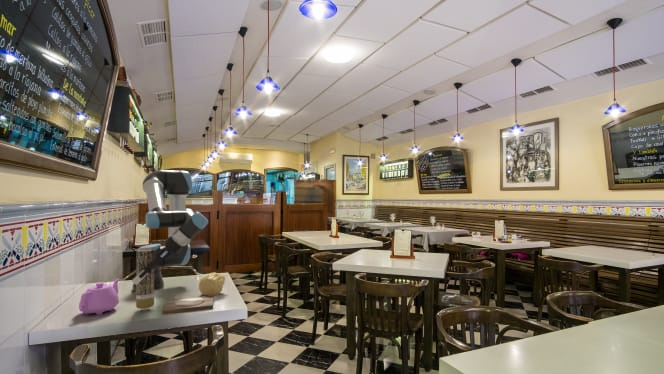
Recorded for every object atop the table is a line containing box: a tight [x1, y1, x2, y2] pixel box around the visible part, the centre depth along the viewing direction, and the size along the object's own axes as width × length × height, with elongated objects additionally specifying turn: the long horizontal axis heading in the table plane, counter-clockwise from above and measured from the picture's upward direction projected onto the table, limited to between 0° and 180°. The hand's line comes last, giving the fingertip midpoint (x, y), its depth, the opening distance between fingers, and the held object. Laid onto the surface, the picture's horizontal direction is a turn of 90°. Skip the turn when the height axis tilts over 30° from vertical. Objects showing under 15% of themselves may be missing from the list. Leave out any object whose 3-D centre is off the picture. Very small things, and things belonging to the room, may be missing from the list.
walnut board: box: [161, 295, 215, 315], centre depth 153 cm, size 16×20×2 cm
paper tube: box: [135, 247, 155, 310], centre depth 148 cm, size 7×7×25 cm
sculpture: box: [198, 272, 226, 296], centre depth 172 cm, size 11×12×11 cm
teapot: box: [78, 277, 120, 316], centre depth 147 cm, size 20×14×12 cm
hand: (136, 280), depth 147 cm, fingers closed on paper tube, 7 cm apart
